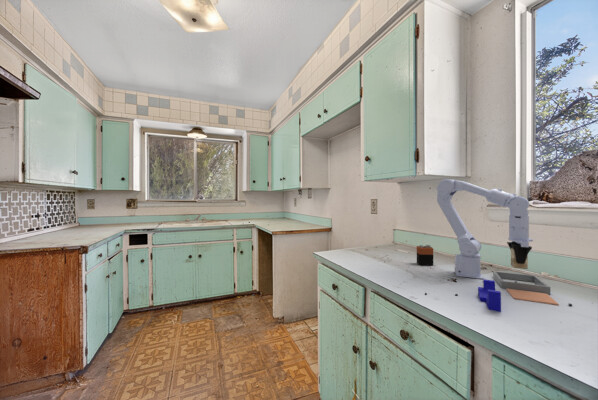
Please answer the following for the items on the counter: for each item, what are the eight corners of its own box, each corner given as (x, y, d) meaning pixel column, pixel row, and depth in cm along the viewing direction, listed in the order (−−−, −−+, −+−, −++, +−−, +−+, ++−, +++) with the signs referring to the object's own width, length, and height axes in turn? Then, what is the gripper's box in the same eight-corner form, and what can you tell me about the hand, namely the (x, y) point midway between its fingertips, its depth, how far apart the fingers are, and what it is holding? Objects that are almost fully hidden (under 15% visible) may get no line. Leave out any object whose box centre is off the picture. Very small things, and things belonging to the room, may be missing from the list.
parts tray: (501, 287, 91) (501, 281, 91) (493, 276, 103) (493, 271, 103) (550, 294, 85) (550, 287, 85) (535, 281, 97) (535, 275, 97)
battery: (433, 265, 121) (433, 246, 120) (419, 265, 121) (419, 246, 121) (430, 263, 125) (429, 244, 125) (416, 263, 126) (416, 244, 126)
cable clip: (478, 295, 86) (478, 278, 86) (494, 297, 84) (494, 280, 83) (482, 308, 76) (482, 290, 76) (501, 312, 73) (500, 292, 73)
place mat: (513, 298, 82) (513, 297, 82) (506, 289, 90) (506, 288, 90) (558, 305, 77) (558, 304, 77) (546, 294, 84) (546, 293, 84)
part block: (513, 267, 93) (513, 249, 93) (510, 265, 97) (510, 247, 97) (527, 269, 91) (527, 250, 91) (524, 266, 95) (524, 248, 95)
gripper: (540, 230, 85) (540, 268, 86) (525, 225, 98) (525, 258, 98) (514, 229, 89) (514, 265, 89) (503, 224, 101) (503, 256, 102)
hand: (518, 261), depth 94 cm, fingers closed on part block, 4 cm apart
